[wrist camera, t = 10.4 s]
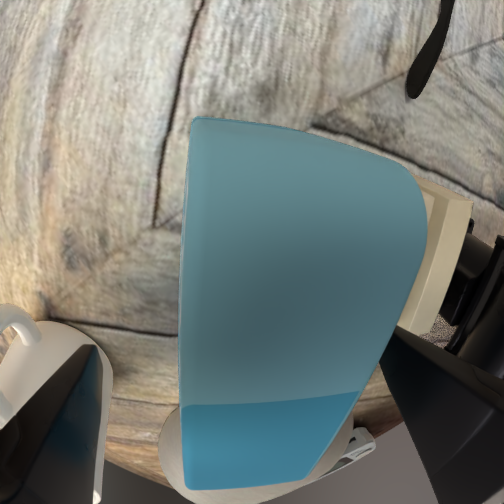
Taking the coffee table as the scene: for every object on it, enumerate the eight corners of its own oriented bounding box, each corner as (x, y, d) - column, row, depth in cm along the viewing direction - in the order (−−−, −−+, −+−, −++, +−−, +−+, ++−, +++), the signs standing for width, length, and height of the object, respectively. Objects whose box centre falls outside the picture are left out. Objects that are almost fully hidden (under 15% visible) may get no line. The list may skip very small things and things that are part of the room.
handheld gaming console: (371, 441, 25) (383, 447, 30) (359, 419, 28) (373, 429, 33) (252, 496, 27) (283, 496, 32) (244, 475, 29) (276, 478, 34)
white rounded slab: (336, 416, 15) (392, 466, 23) (299, 335, 22) (365, 414, 29) (114, 499, 17) (233, 530, 25) (118, 431, 24) (224, 480, 31)
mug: (-19, 272, 15) (-96, 377, 6) (78, 260, 16) (11, 399, 7) (43, 393, 21) (18, 494, 12) (128, 394, 22) (122, 512, 13)
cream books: (407, 171, 18) (474, 201, 13) (383, 281, 21) (430, 332, 16) (339, 163, 17) (401, 193, 12) (320, 286, 20) (360, 346, 15)
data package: (192, 115, 14) (194, 135, 4) (280, 125, 15) (452, 183, 5) (178, 316, 19) (186, 501, 9) (248, 318, 20) (300, 490, 10)
